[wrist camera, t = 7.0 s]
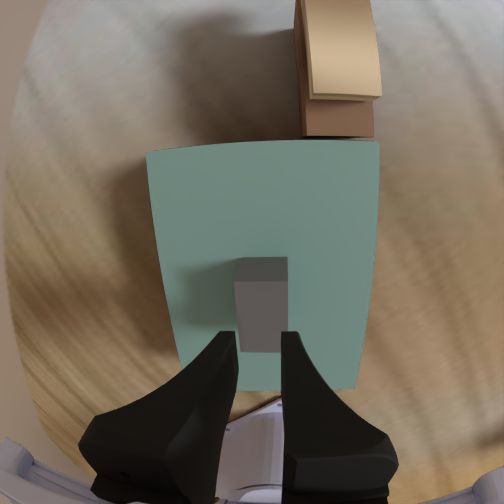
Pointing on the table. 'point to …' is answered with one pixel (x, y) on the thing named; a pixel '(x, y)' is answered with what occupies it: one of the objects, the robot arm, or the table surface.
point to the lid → (269, 250)
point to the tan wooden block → (341, 50)
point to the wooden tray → (326, 102)
